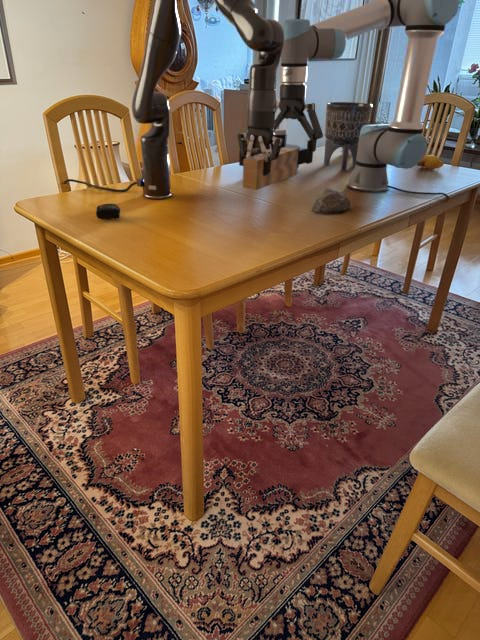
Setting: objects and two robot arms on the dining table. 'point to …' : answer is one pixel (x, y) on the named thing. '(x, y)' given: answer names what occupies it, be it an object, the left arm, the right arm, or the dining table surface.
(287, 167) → the bar
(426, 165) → the toy
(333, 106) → the planter
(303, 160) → the mechanical component
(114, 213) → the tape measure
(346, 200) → the rock
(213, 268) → the dining table surface
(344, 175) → the dining table surface
